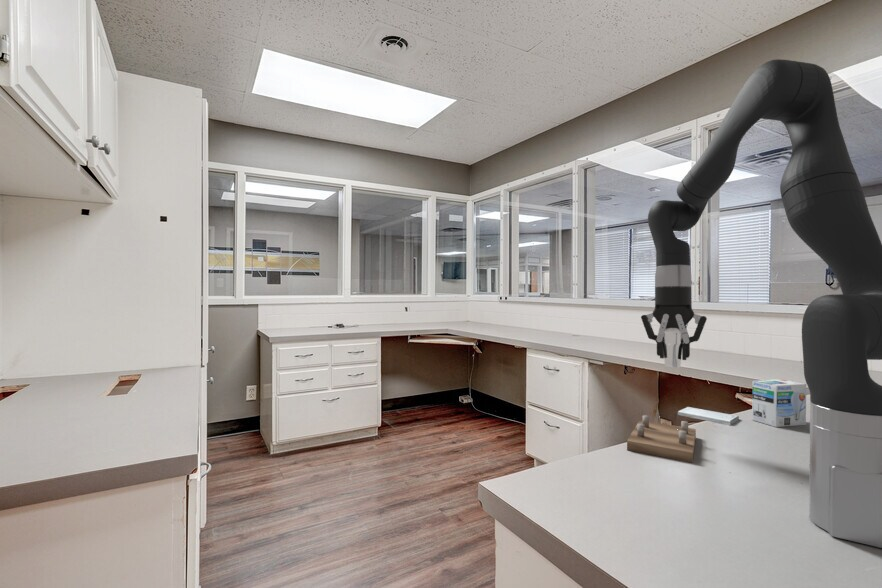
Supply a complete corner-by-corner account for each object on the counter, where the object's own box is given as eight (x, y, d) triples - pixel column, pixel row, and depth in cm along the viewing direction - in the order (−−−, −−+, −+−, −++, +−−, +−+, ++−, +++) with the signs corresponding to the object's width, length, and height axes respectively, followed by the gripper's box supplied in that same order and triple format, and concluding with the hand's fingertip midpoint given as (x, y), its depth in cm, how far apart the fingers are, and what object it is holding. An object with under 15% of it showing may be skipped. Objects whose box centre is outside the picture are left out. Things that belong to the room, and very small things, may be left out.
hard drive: (739, 415, 114) (688, 406, 123) (730, 421, 108) (677, 410, 117) (738, 421, 114) (688, 411, 123) (730, 427, 108) (677, 416, 117)
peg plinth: (692, 462, 83) (692, 439, 83) (627, 449, 90) (627, 428, 90) (695, 437, 98) (695, 418, 98) (639, 428, 105) (639, 410, 105)
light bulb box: (776, 427, 107) (777, 385, 107) (750, 420, 113) (751, 380, 113) (807, 425, 109) (807, 383, 110) (780, 417, 116) (780, 378, 116)
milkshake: (690, 368, 95) (691, 324, 96) (664, 367, 97) (665, 323, 97) (683, 365, 100) (684, 323, 100) (659, 364, 101) (659, 322, 101)
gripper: (637, 285, 100) (637, 358, 99) (708, 284, 92) (708, 363, 91) (642, 286, 106) (642, 355, 105) (709, 285, 98) (709, 359, 98)
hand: (673, 358), depth 98 cm, fingers closed on milkshake, 4 cm apart
